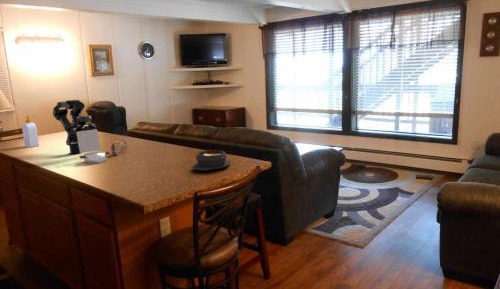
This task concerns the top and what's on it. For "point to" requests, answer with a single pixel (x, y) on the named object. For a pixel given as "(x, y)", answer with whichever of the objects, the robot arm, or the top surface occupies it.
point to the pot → (94, 157)
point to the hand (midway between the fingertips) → (85, 138)
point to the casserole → (211, 160)
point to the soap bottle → (30, 134)
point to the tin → (119, 147)
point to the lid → (88, 141)
